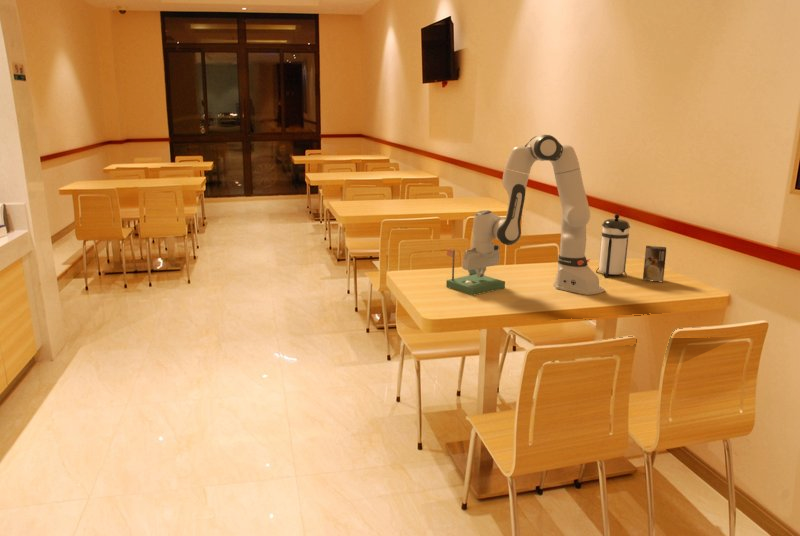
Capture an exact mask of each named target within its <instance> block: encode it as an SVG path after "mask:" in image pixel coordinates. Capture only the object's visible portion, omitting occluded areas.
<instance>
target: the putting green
mask: <svg viewBox="0 0 800 536" xmlns="http://www.w3.org/2000/svg"><path fill="white" fill-rule="evenodd" d="M455 252H456V251H455V249H449V248H446V256H447V257H452V268H451V270H452V271H451V272H452V273H451V279H447V280H446V285H445V286H447V287H446V288H449V287H450V288H449V289H452V288H453V290H455V289H456V290H455V291H458V290H459V291H458V292H461V291H462V293H464V292H465V293H464V294H467V293H468V294H467V295H470V294H472V295H471V296H475V295H474V294H477V295H480V294H479V293H481V294H484V293H483V292H485V293H489V292H488V291H490V292H493V291H492V290H494V291H497V289H498V290H501V289H506V281H505V280H502V279H498V278H494V277H491V276H487V275H484V277H480V278H478V277H477V274H474V275H471V274H469V275H465V276H461V277H456V278H455V257H456V256H455V255H456V254H455ZM466 281H471V282H472V283H473V284H466V283H465V282H466Z"/></svg>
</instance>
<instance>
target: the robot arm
mask: <svg viewBox="0 0 800 536" xmlns="http://www.w3.org/2000/svg"><path fill="white" fill-rule="evenodd" d="M537 161H541V162H542V161H549V162H550V163H551V165H552V169H553V173H554V178H555V184H556V188H557V191H558V192H557V193H558V197H559V201H560V205H561V213H560V214H561V215H560V216H561V217H560V220H561V221H560V245H559V246H560V247H559V254H558V259H557V263H558V266H557V271H556V272H557V273H556V277H555V279H554V282H553V286H554V287H555V289H556V290H561V291H566V292H570V293H574V294H575V293H576V294H580V295H586V296H590V295H592V296H593V295H597V294H601V293H603V292H604V291H605V288H604V287H603V286H600V279H599V276H598V275H597V274H596V273H595V272H594V270H592V269H591V268H590V267H589V265H588V263H590V260H591V259H587V256H586V248H587V247H586V246H587V224H588V223H589V221H590V219H591V211H590V206H589V201H588V197H587V194H586V189H585V187H584V181H583V177H582V171H581V168H580V162H579V159H578V155H577V153H576V151H575V149H574V147H573V146H572V145H569V144H563V145H562V144H561V143H560V141H558V139H557V138H556V137H554V136H552V135H551V134H539V135H536V136H533V137H532V138H531V139H530V140H529V141H528V142H527V143H526V144H525V145H517V146H515V147H513V148H512V149H511V151H510V153H509V156H508V157H507V160H506V163H505V166H504V168H503V169H504V170H503V173H502V174H503V175H502V186H503V188H504V189H505V191H506V193H507V195H508V204H507V210H506V216H505V218H504V217H501V216H499V215H497V214H495V213H493V212H492V211H491V210H480V211H478V212H476V213H475V214H474V217H473V221H472V222H473V223H472V233H473V234H472V239H471V248H468V249H466V250H465V251H464V254H463V257H462V264H461V265H462V266H461V267H462V269H463V270H465V271H468V270H473V269H475V271H476V273H477V277H478V278H480V277H484V276H485V272H486V270H487V268H489V267H493V266H498V265H499V263H500V248H501V247H500V245H498V244H496V243H493V240H494V239H496V240H498V241H499V242H500V243H502V244H503V245H506V246H512V245H514V244H516V243H517V242H518V241H519V240H520V238H521V235H522V228H521V222H522V221H521V220H522V216H523V215H522V214H523V210H524V203H525V199H526V191H527V185H528V181H529V177H530V173H531V170H532V169H531V168H532V167H533V165H534V163H535V162H537ZM480 269H481V272H480V271H479V270H480Z"/></svg>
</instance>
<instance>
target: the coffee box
mask: <svg viewBox="0 0 800 536" xmlns="http://www.w3.org/2000/svg"><path fill="white" fill-rule="evenodd" d="M666 256H667V247H666V246H655V245H645V253H644V261H643V275H642V281H643V280H653V281H663V282H664V279H665V277H664V276H665V268H666V267H665V266H666Z"/></svg>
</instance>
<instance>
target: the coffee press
mask: <svg viewBox="0 0 800 536" xmlns="http://www.w3.org/2000/svg"><path fill="white" fill-rule="evenodd" d="M601 226H602V230H601V238H600V240H601V241H600V251H599V261H598V262H599V263H598V268H597V269H596V270H595V272H596V273H597V272H598V270H599V272H601V273H602V274H604V278H606V277H607V278H610V277H609V276H610V275H621V276H622V277H623V278H625V277H627V276H628V274H627V272H626V266H627V265H626V263H627V255H628V246H629V245H628V244H629V237H630V233H629V232H630V229H631V225H630V223H629V221H627V220H624V219H621V218H620V215H619V214H615V215H614V218H608V219H605V220H604V221H603V223H602V224H601ZM623 273H624V274H623ZM624 276H625V277H624ZM607 278H606V279H607Z"/></svg>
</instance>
